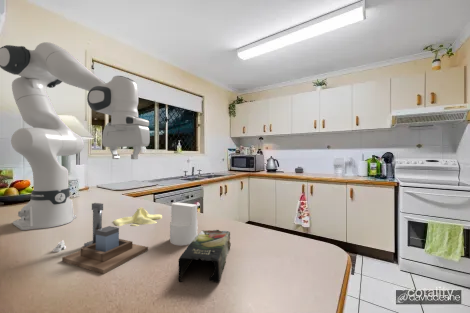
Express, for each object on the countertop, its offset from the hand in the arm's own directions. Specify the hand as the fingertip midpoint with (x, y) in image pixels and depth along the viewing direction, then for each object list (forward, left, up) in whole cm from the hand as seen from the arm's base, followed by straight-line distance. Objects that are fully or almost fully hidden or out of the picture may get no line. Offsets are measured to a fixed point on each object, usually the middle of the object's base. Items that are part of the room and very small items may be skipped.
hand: (124, 159), depth 79 cm
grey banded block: (+11, -15, -26) cm, 32 cm away
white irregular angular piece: (-7, -18, -28) cm, 34 cm away
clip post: (+1, -11, -27) cm, 29 cm away
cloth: (-6, +14, -28) cm, 32 cm away
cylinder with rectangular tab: (+24, +3, -27) cm, 36 cm away
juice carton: (+39, -7, -28) cm, 48 cm away
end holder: (+11, -15, -27) cm, 33 cm away
